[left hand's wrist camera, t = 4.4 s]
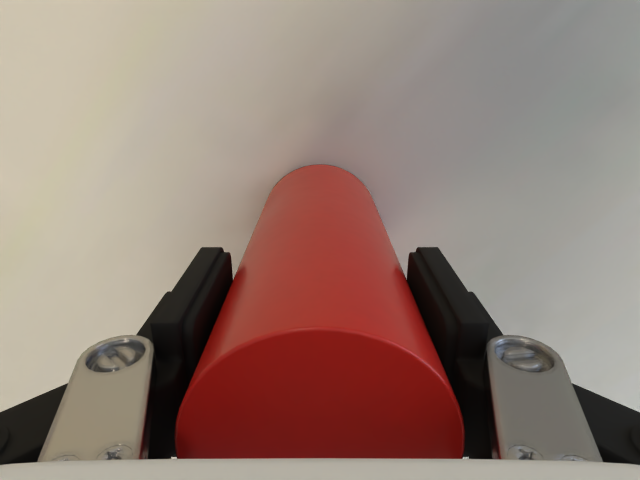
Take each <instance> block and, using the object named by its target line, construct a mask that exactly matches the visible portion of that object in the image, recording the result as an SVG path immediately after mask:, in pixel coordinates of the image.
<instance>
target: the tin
mask: <svg viewBox="0 0 640 480" xmlns="http://www.w3.org/2000/svg"><path fill="white" fill-rule="evenodd" d="M174 439H175V449H176V456H177V459H269V458H371V459H462V458H463V453H464V446H465V429H464V421H463V416H462V413H461V410H460V407H459V404H458V401H457V399H456V396H455V394H454V392H453V389H452V387H451V385H450V382H449V380H448V377H447V375H446V373H445V370H444V368H443V366H442V363H441V361H440V358H439V356H438V354H437V351H436V349H435V346H434V344H433V342H432V339H431V337H430V335H429V332H428V330H427V327H426V325H425V323H424V320H423V318H422V316H421V313H420V311H419V308H418V306H417V304H416V301H415V299H414V297H413V294H412V292H411V289H410V287H409V285H408V282H407V280H406V277H405V275H404V273H403V270H402V268H401V266H400V263H399V261H398V258H397V256H396V254H395V251H394V249H393V247H392V244H391V242H390V239H389V237H388V235H387V232H386V230H385V227H384V225H383V223H382V220H381V218H380V216H379V213H378V211H377V208H376V206H375V204H374V201H373V199H372V197H371V195H370V193H369V191H368V190H367V188H366V187H365V185H364V184H363V183H362V182H361V181H360V180H359V179H358V178H357V177H355V176H354V175H352V174H351V173H349V172H348V171H346V170H343V169H341V168H338V167H335V166H330V165H310V166H305V167H302V168H299V169H296V170H294V171H292V172H290V173H289V174H287V175H286V176H285V177H283V178H282V179H281V180H280V181H279V182H278V183H277V184H276V185H275V187H274V188H273V189H272V191H271V193H270V194H269V197H268V199H267V201H266V204H265V206H264V208H263V211H262V213H261V215H260V218H259V220H258V223H257V225H256V227H255V230H254V232H253V234H252V237H251V239H250V242H249V244H248V246H247V249H246V251H245V253H244V256H243V258H242V261H241V263H240V265H239V268H238V270H237V272H236V275H235V277H234V280H233V282H232V284H231V287H230V289H229V291H228V294H227V296H226V299H225V301H224V303H223V306H222V308H221V310H220V313H219V315H218V317H217V320H216V322H215V325H214V327H213V329H212V332H211V334H210V336H209V339H208V341H207V344H206V346H205V348H204V351H203V353H202V355H201V358H200V360H199V363H198V365H197V367H196V370H195V372H194V374H193V377H192V379H191V382H190V384H189V386H188V389H187V391H186V393H185V396H184V398H183V401H182V403H181V405H180V408H179V411H178V415H177V419H176V424H175V437H174Z"/></svg>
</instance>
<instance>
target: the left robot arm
mask: <svg viewBox="0 0 640 480" xmlns="http://www.w3.org/2000/svg"><path fill="white" fill-rule="evenodd" d="M232 282H233V276H232V263H231V255H230V253H229V252H224V250H223V248H222V247H202V248H201V249H200V250H199V252H198V253H197V255H196V256H195V258H194V259H193V261H192V262H191V264H190V265H189V267H188V268H187V270H186V271H185V273H184V274H183V275H182V277H181V278H180V280H179V281H178V283H177V284H176V286H175V287H174V289H173V290H172V292H167V293H166V294H165V295H164V296H163V298H162V299H161V301H160V302H159V303H158V305H157V306H156V308H155V309H154V311H153V312H152V313H151V315H150V316H149V318H148V319H147V320H146V322H145V323H144V325H143V326H142V328H141V329H140V330H139V332H138V333H137V335H124V336H117V337H113V338H109V339H106V340H103V341H101V342H98V343H97V344H95V345H93V346H91V347H89V348H88V349H87V350H86V351H85V352H83V353H82V354H81V356H80V357H79V359H78V360H77V363H76V365H75V368H74V370H73V373H72V375H71V378H70V380H69V383H67V384H65V385H63V386H60V387H58V388H56V389H53V390H51V391H49V392H46V393H44V394H42V395H40V396H37V397H35V398H33V399H30V400H28V401H26V402H23V403H21V404H19V405H16V406H14V407H12V408H9V409H7V410H5V411H2V412H0V480H640V412H637V411H635V410H633V409H630V408H628V407H626V406H623V405H621V404H619V403H616V402H614V401H612V400H609V399H607V398H605V397H602V396H600V395H598V394H596V393H593V392H591V391H589V390H586V389H584V388H582V387H579V386H577V385H575V384H572V383H571V380H570V378H569V375H568V373H567V370H566V368H565V365H564V363H563V360H562V359H561V357H560V356H559V354H558V353H557V352H555V351H554V350H553V349H552V348H551V347H549V346H547V345H545V344H543V343H542V342H539V341H537V340H534V339H531V338H527V337H523V336H516V335H503V334H502V332H501V331H500V330H499V328H498V327H497V325H496V324H495V322H494V321H493V320H492V318H491V317H490V315H489V314H488V312H487V311H486V310H485V308H484V307H483V305H482V304H481V303H480V301H479V300H478V298H477V297H476V295H475V294H474V293H473V292H468V291H467V289H466V288H465V286H464V285H463V283H462V282H461V280H460V279H459V278H458V276H457V275H456V273H455V272H454V270H453V269H452V267H451V266H450V264H449V263H448V261H447V260H446V258H445V257H444V255H443V254H442V253H441V251H440V250H439V248H438V247H418V248H417V249H416V252H411V253H410V254H409V259H408V271H407V282H408V285H409V287H410V289H411V292H412V294H413V297H414V299H415V301H416V304H417V306H418V308H419V311H420V313H421V316H422V318H423V320H424V323H425V325H426V327H427V330H428V332H429V335H430V337H431V339H432V342H433V344H434V346H435V349H436V351H437V354H438V356H439V358H440V361H441V363H442V366H443V368H444V370H445V373H446V375H447V377H448V380H449V382H450V385H451V387H452V389H453V392H454V394H455V396H456V399H457V401H458V404H459V407H460V410H461V413H462V416H463V421H464V429H465V446H464V453H463V457H469V459H371V458H269V459H171V456H172V457H177V456H176V449H175V439H174V437H175V424H176V419H177V415H178V411H179V408H180V405H181V403H182V401H183V398H184V396H185V393H186V391H187V389H188V386H189V384H190V382H191V379H192V377H193V374H194V372H195V370H196V367H197V365H198V363H199V360H200V358H201V355H202V353H203V351H204V348H205V346H206V344H207V341H208V339H209V336H210V334H211V332H212V329H213V327H214V325H215V322H216V320H217V317H218V315H219V313H220V310H221V308H222V306H223V303H224V301H225V299H226V296H227V294H228V291H229V289H230V287H231V284H232Z"/></svg>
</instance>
